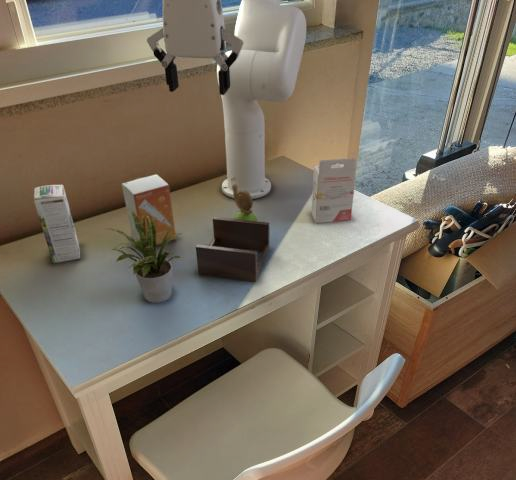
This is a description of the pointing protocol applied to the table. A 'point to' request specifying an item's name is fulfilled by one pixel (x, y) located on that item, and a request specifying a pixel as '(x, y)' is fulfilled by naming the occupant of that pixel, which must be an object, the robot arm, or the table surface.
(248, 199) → the snail figurine
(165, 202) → the small box
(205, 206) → the table surface
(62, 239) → the syrup box
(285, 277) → the table surface
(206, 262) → the frame
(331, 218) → the ink cartridge box
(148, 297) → the house plant
